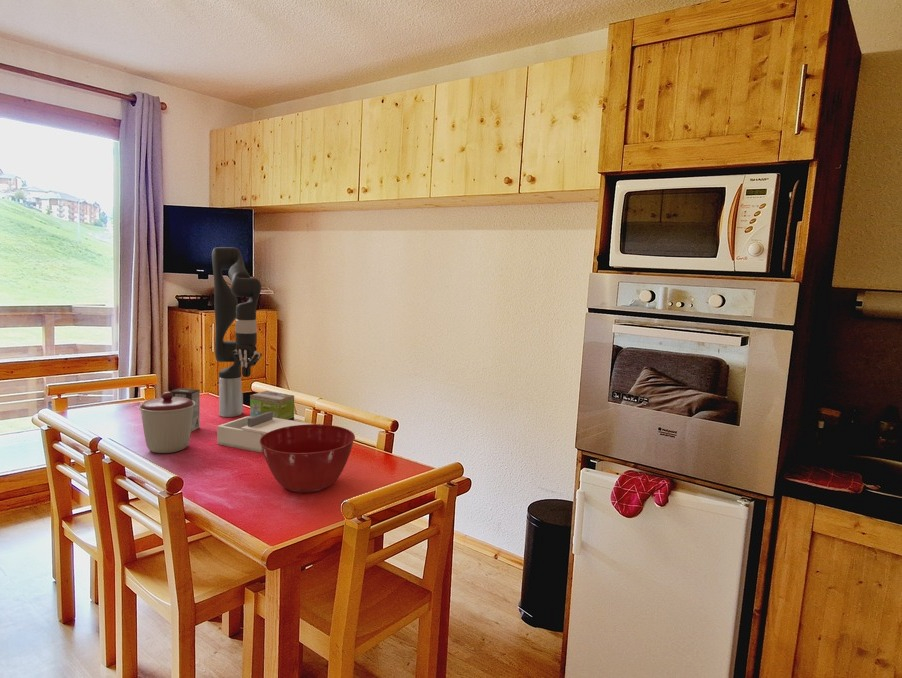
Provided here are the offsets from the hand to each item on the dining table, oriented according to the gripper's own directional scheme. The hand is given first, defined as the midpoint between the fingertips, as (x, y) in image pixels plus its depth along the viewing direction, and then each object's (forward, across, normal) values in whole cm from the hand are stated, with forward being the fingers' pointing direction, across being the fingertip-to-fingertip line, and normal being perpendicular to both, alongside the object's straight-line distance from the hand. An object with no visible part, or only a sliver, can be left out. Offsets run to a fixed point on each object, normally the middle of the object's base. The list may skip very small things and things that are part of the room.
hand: (246, 376), depth 207 cm
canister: (+25, +17, +21) cm, 37 cm away
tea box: (+25, +1, -16) cm, 30 cm away
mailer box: (+25, -4, +1) cm, 25 cm away
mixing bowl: (+25, -46, +26) cm, 58 cm away
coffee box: (+25, +31, 0) cm, 40 cm away
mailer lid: (+18, -16, +1) cm, 24 cm away
